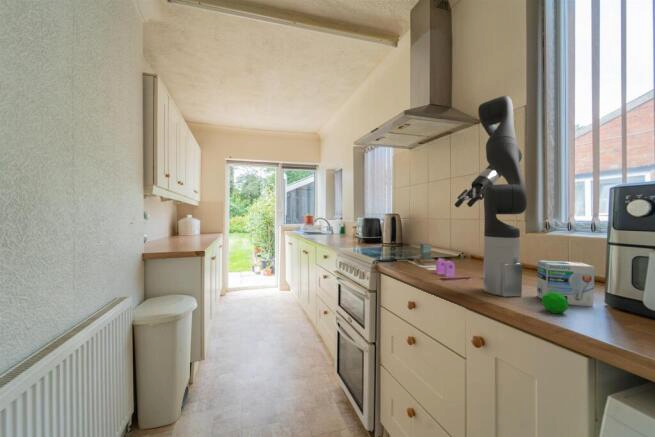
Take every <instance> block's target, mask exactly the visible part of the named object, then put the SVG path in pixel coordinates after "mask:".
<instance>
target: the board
mask: <svg viewBox="0 0 655 437" xmlns="http://www.w3.org/2000/svg"><path fill="white" fill-rule="evenodd" d="M407 262H408V263H410V264H413V265H415V266H417V267H420V268H422V269H426V270H428V271H436V266H423V265H421V264H418V263H415V262H414V260H411V261H410V260H407Z"/></svg>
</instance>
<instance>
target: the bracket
mask: <svg viewBox="0 0 655 437" xmlns="http://www.w3.org/2000/svg"><path fill="white" fill-rule="evenodd" d="M436 261H437V262H436V270H435V274H437V275H442V274H443V276H444V277H442V278H441V277H440V278H439V279H440V280H444V281H456V280H467V279H468V280H469V279H471V278H472V276H470V277H469V276H468V277H455V276H456V274H455V273H456V264H455V263H454V262H453V261H451V260H447V261H446V260H445V259H442V258H441V259H440V258H439V259H437V260H436Z"/></svg>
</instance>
